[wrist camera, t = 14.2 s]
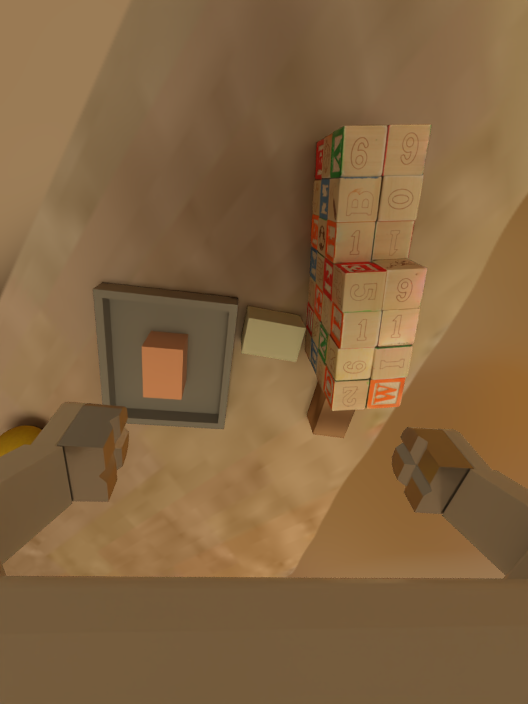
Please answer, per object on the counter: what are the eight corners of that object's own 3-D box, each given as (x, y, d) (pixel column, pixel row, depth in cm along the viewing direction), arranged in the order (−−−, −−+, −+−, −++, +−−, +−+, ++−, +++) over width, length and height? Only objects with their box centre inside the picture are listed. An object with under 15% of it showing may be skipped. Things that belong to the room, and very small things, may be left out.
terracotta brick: (150, 330, 36) (141, 346, 32) (188, 334, 37) (183, 350, 33) (151, 377, 39) (143, 397, 35) (186, 380, 39) (181, 399, 36)
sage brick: (247, 305, 36) (248, 317, 33) (299, 314, 37) (306, 328, 34) (240, 337, 38) (241, 353, 34) (290, 346, 39) (296, 362, 36)
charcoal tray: (102, 282, 34) (92, 288, 32) (237, 297, 36) (237, 305, 34) (111, 409, 41) (104, 422, 39) (224, 416, 43) (224, 429, 40)
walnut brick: (319, 375, 41) (327, 393, 38) (349, 380, 42) (360, 398, 38) (306, 414, 44) (313, 434, 40) (334, 417, 44) (343, 438, 41)
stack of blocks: (314, 140, 30) (359, 113, 19) (381, 140, 30) (464, 112, 19) (304, 351, 40) (331, 413, 29) (355, 348, 40) (401, 409, 29)
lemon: (67, 445, 43) (33, 496, 36) (23, 448, 42) (-20, 501, 35) (53, 410, 40) (14, 458, 33) (6, 414, 40) (-44, 463, 33)
